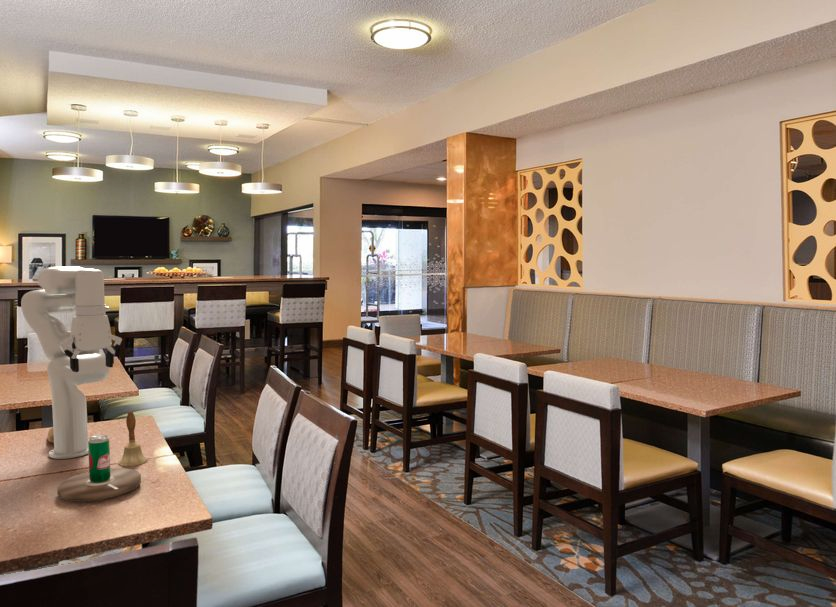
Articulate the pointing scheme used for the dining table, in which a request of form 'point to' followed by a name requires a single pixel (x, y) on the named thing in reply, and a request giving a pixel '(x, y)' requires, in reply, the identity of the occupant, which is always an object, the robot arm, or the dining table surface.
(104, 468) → the soda can
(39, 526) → the dining table surface
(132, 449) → the hand bell
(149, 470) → the dining table surface
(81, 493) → the turntable
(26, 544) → the dining table surface
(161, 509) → the dining table surface
